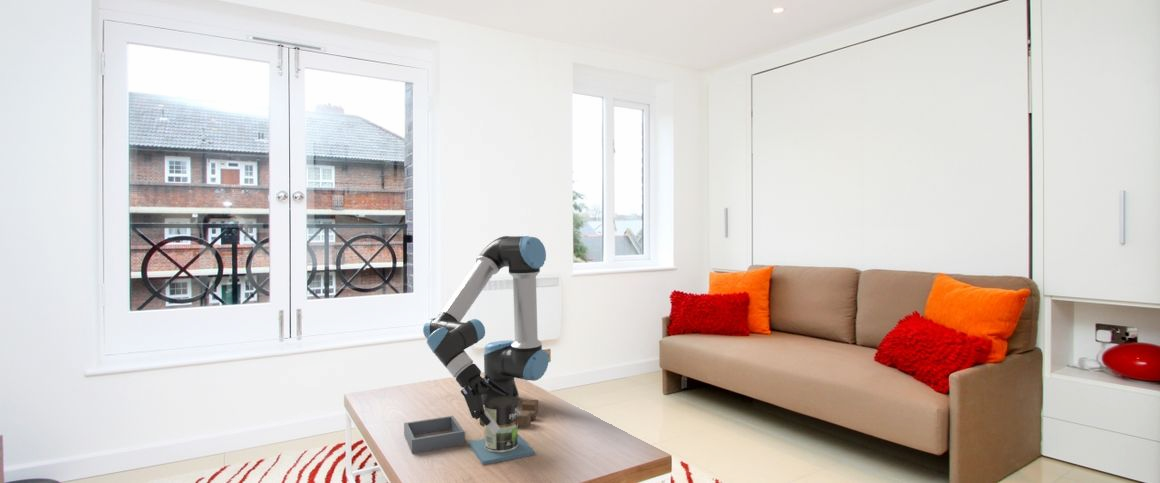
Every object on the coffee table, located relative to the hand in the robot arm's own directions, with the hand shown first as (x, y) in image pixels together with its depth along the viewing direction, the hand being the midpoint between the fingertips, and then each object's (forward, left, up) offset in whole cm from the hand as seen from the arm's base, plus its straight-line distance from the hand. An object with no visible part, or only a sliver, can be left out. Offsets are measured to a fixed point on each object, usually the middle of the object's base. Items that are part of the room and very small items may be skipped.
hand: (507, 424), depth 165 cm
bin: (+19, -19, -8) cm, 28 cm away
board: (+2, -2, -8) cm, 8 cm away
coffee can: (+2, -2, -7) cm, 8 cm away
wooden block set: (-10, -27, -9) cm, 30 cm away
